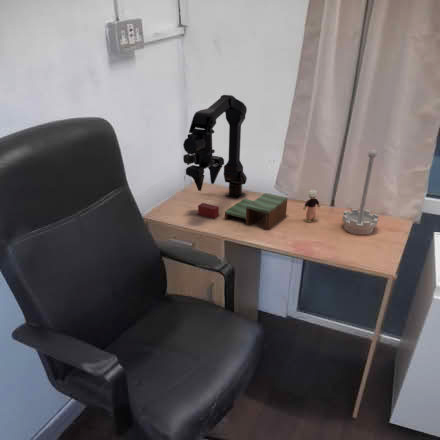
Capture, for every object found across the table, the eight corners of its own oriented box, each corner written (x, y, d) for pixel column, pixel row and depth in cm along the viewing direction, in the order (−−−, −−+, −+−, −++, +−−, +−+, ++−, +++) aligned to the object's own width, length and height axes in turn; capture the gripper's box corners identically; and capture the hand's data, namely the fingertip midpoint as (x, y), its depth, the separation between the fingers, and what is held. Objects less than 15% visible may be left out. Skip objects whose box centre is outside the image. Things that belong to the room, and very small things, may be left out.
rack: (244, 206, 182) (244, 188, 177) (286, 216, 173) (287, 197, 168) (224, 219, 171) (224, 200, 166) (268, 230, 162) (269, 211, 157)
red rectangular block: (203, 211, 178) (202, 202, 175) (218, 215, 174) (218, 206, 172) (198, 214, 175) (197, 205, 173) (214, 218, 171) (213, 209, 169)
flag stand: (375, 237, 156) (393, 156, 139) (340, 233, 159) (353, 153, 142) (375, 223, 166) (392, 146, 149) (342, 219, 169) (354, 143, 152)
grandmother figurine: (312, 216, 172) (316, 186, 165) (319, 219, 169) (323, 189, 162) (299, 221, 168) (302, 190, 161) (306, 224, 166) (309, 193, 159)
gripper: (201, 139, 169) (202, 177, 178) (173, 150, 156) (176, 190, 165) (224, 142, 164) (224, 181, 173) (197, 154, 151) (199, 196, 160)
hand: (206, 187), depth 168 cm, fingers open, 9 cm apart
